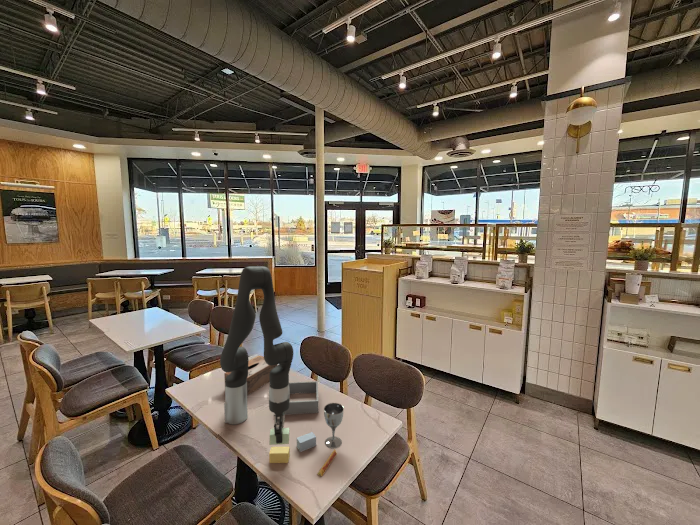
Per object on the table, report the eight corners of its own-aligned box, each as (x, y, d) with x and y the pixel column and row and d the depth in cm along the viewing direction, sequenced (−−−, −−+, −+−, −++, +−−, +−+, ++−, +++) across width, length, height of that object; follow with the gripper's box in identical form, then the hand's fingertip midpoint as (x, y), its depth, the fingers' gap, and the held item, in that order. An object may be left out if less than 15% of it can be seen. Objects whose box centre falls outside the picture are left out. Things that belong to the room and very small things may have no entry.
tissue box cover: (244, 398, 156) (244, 379, 155) (224, 390, 162) (224, 373, 161) (277, 376, 179) (277, 360, 178) (259, 371, 185) (258, 355, 184)
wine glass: (323, 436, 128) (324, 403, 126) (342, 435, 129) (343, 402, 127) (323, 449, 120) (324, 414, 119) (343, 448, 121) (344, 414, 119)
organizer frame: (278, 415, 142) (278, 403, 141) (282, 393, 160) (282, 382, 160) (318, 412, 144) (318, 400, 144) (317, 391, 163) (317, 381, 162)
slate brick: (300, 452, 119) (300, 443, 118) (296, 447, 122) (296, 437, 121) (316, 445, 123) (316, 436, 122) (312, 440, 126) (312, 431, 125)
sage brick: (269, 444, 112) (269, 434, 112) (270, 438, 115) (270, 428, 115) (288, 443, 113) (288, 433, 112) (289, 437, 116) (289, 427, 116)
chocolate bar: (316, 475, 109) (316, 469, 108) (331, 452, 119) (331, 447, 119) (322, 477, 107) (322, 472, 107) (337, 455, 118) (337, 449, 118)
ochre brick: (269, 463, 113) (269, 453, 113) (271, 456, 117) (271, 446, 116) (288, 463, 113) (288, 453, 113) (289, 456, 117) (289, 446, 116)
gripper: (271, 386, 119) (272, 427, 121) (266, 407, 105) (267, 453, 107) (290, 385, 120) (291, 426, 122) (288, 406, 106) (288, 451, 108)
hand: (279, 438), depth 114 cm, fingers closed on sage brick, 3 cm apart
